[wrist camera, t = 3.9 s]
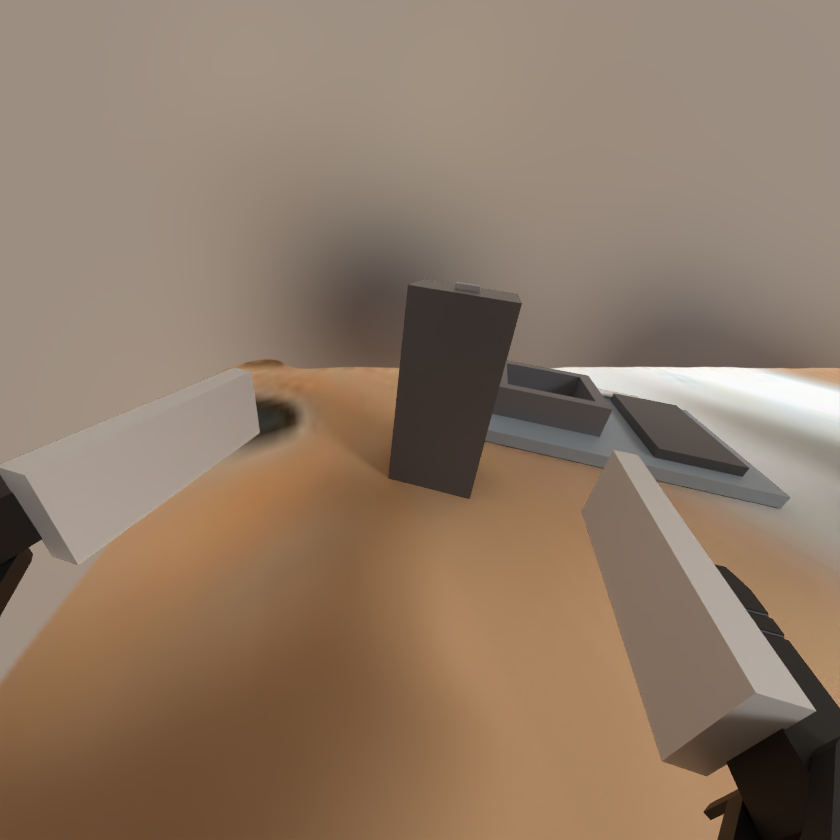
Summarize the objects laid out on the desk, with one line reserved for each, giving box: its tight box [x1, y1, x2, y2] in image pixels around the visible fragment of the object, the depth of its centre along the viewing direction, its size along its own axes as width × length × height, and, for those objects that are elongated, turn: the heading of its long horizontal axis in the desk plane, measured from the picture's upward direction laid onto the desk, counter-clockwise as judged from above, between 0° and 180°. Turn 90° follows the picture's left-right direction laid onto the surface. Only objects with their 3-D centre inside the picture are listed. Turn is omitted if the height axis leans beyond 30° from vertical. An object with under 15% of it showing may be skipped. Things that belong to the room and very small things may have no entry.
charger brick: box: [389, 279, 522, 499], centre depth 18 cm, size 5×4×11 cm
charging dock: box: [485, 360, 790, 508], centre depth 29 cm, size 21×14×4 cm, turn 77°
